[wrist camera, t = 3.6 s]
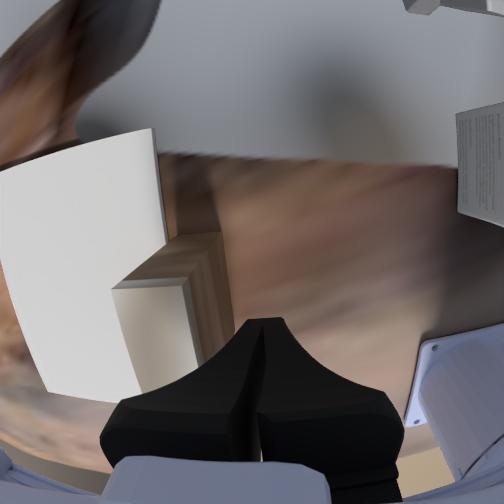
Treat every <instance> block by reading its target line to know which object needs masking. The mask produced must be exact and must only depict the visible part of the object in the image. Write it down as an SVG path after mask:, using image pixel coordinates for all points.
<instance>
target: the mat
mask: <svg viewBox="0 0 504 504" xmlns="http://www.w3.org/2000/svg"><path fill="white" fill-rule="evenodd" d="M168 242H169V240H168V234H167V228H166V221H165V214H164V207H163V199H162V192H161V184H160V176H159V167H158V158H157V149H156V139H155V129H154V128H148V129H143V130H138V131H134V132H129V133H125V134H121V135H117V136H112V137H108V138H104V139H101V140H97V141H93V142H90V143H86V144H82V145H79V146H75V147H72V148H68V149H65V150H62V151H58V152H55V153H52V154H49V155H46V156H43V157H40V158H37V159H34V160H31V161H28V162H25V163H23V164H20V165H17V166H14V167H12V168H9V169H7V170H4V171H1V172H0V259H1V264H2V268H3V271H4V275H5V279H6V283H7V286H8V290H9V293H10V296H11V300H12V303H13V306H14V309H15V312H16V315H17V318H18V321H19V324H20V326H21V329H22V332H23V335H24V337H25V340H26V343H27V345H28V348H29V350H30V353H31V355H32V357H33V360H34V362H35V364H36V367H37V369H38V371H39V373H40V376H41V378H42V380H43V382H44V384H45V386H46V388H47V390H48V392H52V393H57V394H62V395H68V396H73V397H79V398H85V399H91V400H98V401H105V402H113V403H119V402H120V401H121V399H125V398H129V397H133V396H137V395H140V394H142V392H141V389H140V386H139V383H138V380H137V378H136V375H135V372H134V369H133V366H132V363H131V359H130V356H129V353H128V350H127V347H126V343H125V340H124V337H123V333H122V330H121V326H120V323H119V319H118V316H117V312H116V308H115V304H114V300H113V296H112V292H111V289H112V288H113V287H114V286H115V285H117V284H118V283H119V282H120V281H121V280H123V279H124V278H125V277H126V276H127V275H129V274H130V273H131V272H132V271H133V270H135V269H136V268H137V267H138V266H140V265H141V264H142V263H143V262H144V261H146V260H147V259H148V258H149V257H151V256H152V255H153V254H154V253H156V252H157V251H158V250H159V249H161V248H162V247H163V246H164V245H166V244H167V243H168Z"/></svg>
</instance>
